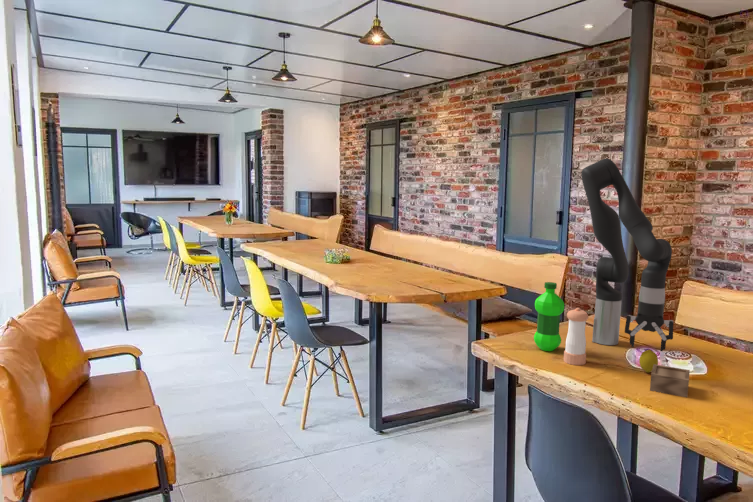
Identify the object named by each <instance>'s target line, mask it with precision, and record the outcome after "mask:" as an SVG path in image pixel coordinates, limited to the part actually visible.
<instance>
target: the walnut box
mask: <svg viewBox="0 0 753 502" xmlns="http://www.w3.org/2000/svg"><path fill="white" fill-rule="evenodd" d="M649 382H650V383H649V384H650V385H649V391H650V392H654V391H656V392H655V393H660V392H661V394H665V395H666V394H667V395H671V396H677V397H682V398H688V396H689V395H688V393H689V385H690V384H689V383H690V369H685V368H680V367H674V366H673V367H672V366H666V365H661V364H658V365H656V364H654V365H653V369H652V371H651V373H650V381H649Z"/></svg>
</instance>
